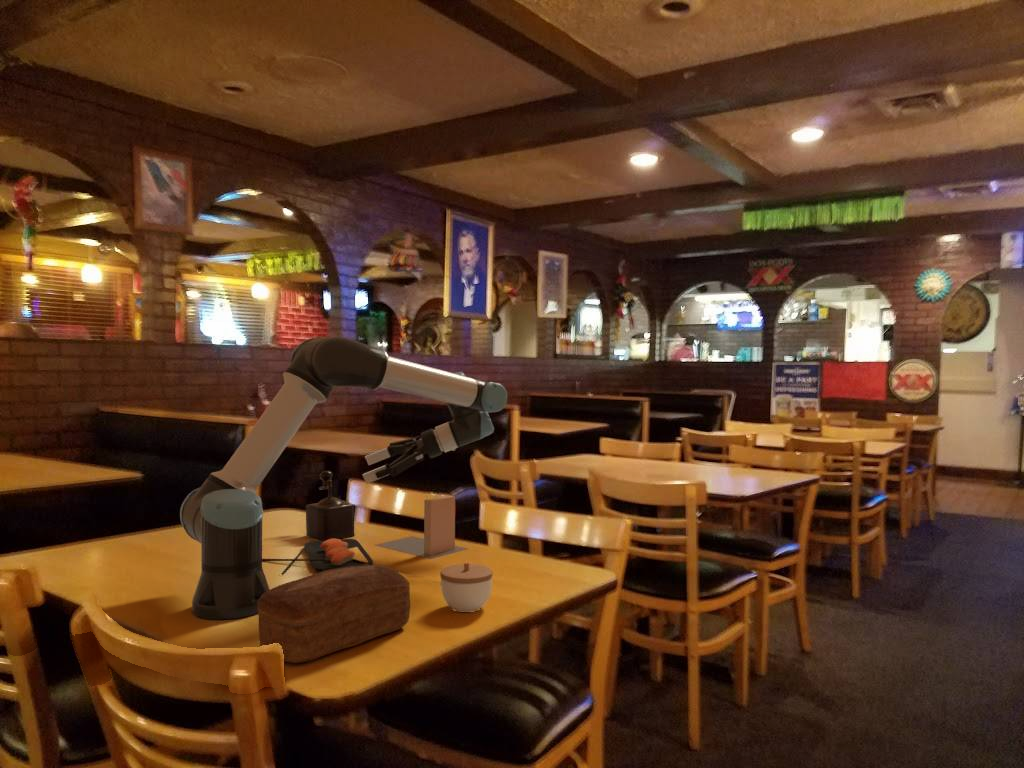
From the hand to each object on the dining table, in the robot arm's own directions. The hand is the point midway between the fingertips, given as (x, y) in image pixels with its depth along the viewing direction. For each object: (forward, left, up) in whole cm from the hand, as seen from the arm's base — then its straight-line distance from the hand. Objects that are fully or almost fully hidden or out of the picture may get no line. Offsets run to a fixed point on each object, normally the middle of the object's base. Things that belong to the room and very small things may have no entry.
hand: (365, 469), depth 201 cm
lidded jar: (-57, -7, -22) cm, 62 cm away
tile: (-14, -16, -20) cm, 30 cm away
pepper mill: (+21, +7, -22) cm, 31 cm away
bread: (-64, +20, -22) cm, 71 cm away
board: (-8, -13, -21) cm, 26 cm away
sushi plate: (-6, +17, -22) cm, 29 cm away
